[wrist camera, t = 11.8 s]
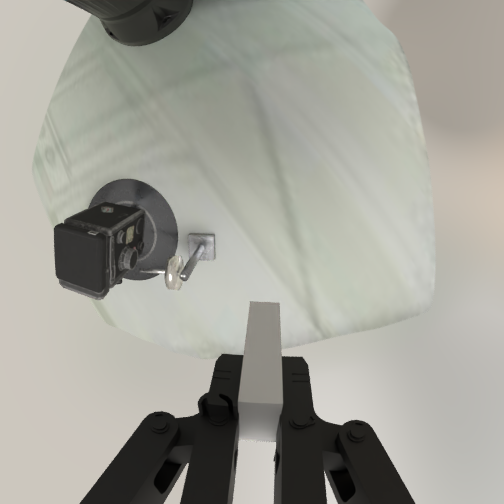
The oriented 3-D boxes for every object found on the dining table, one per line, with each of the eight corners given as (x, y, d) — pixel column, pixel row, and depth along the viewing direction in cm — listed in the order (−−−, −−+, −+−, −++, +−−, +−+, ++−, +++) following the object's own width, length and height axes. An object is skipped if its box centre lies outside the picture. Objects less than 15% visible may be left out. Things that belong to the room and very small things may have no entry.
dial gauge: (163, 231, 45) (131, 261, 33) (214, 233, 44) (195, 265, 33) (165, 256, 46) (136, 292, 35) (215, 259, 46) (198, 298, 35)
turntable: (82, 181, 42) (81, 182, 42) (175, 177, 41) (174, 177, 41) (95, 275, 49) (94, 276, 48) (181, 283, 48) (181, 284, 48)
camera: (100, 254, 47) (52, 293, 33) (102, 197, 43) (45, 223, 29) (150, 268, 47) (110, 315, 33) (156, 208, 43) (109, 240, 29)
